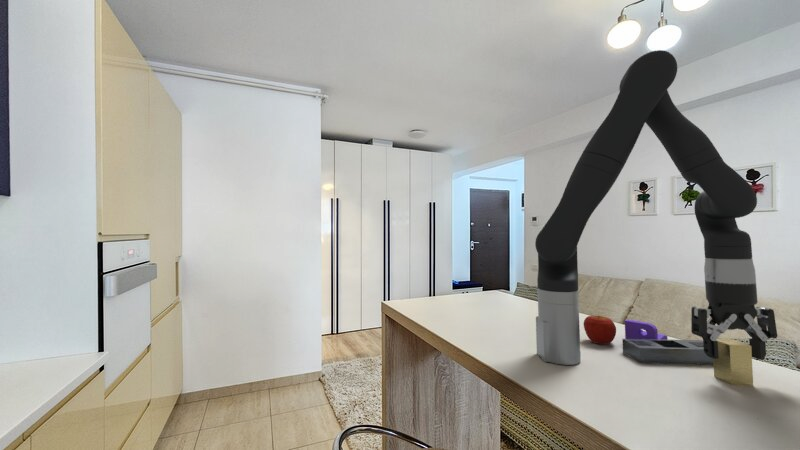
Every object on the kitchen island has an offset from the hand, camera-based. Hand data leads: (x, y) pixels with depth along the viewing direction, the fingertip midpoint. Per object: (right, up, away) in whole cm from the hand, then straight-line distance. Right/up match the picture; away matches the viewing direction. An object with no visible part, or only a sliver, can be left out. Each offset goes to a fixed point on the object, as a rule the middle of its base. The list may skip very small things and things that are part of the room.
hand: (734, 357), depth 66 cm
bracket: (0, -6, +24) cm, 25 cm away
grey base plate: (-2, -5, +12) cm, 14 cm away
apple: (-13, -6, +25) cm, 28 cm away
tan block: (0, -5, 0) cm, 5 cm away
